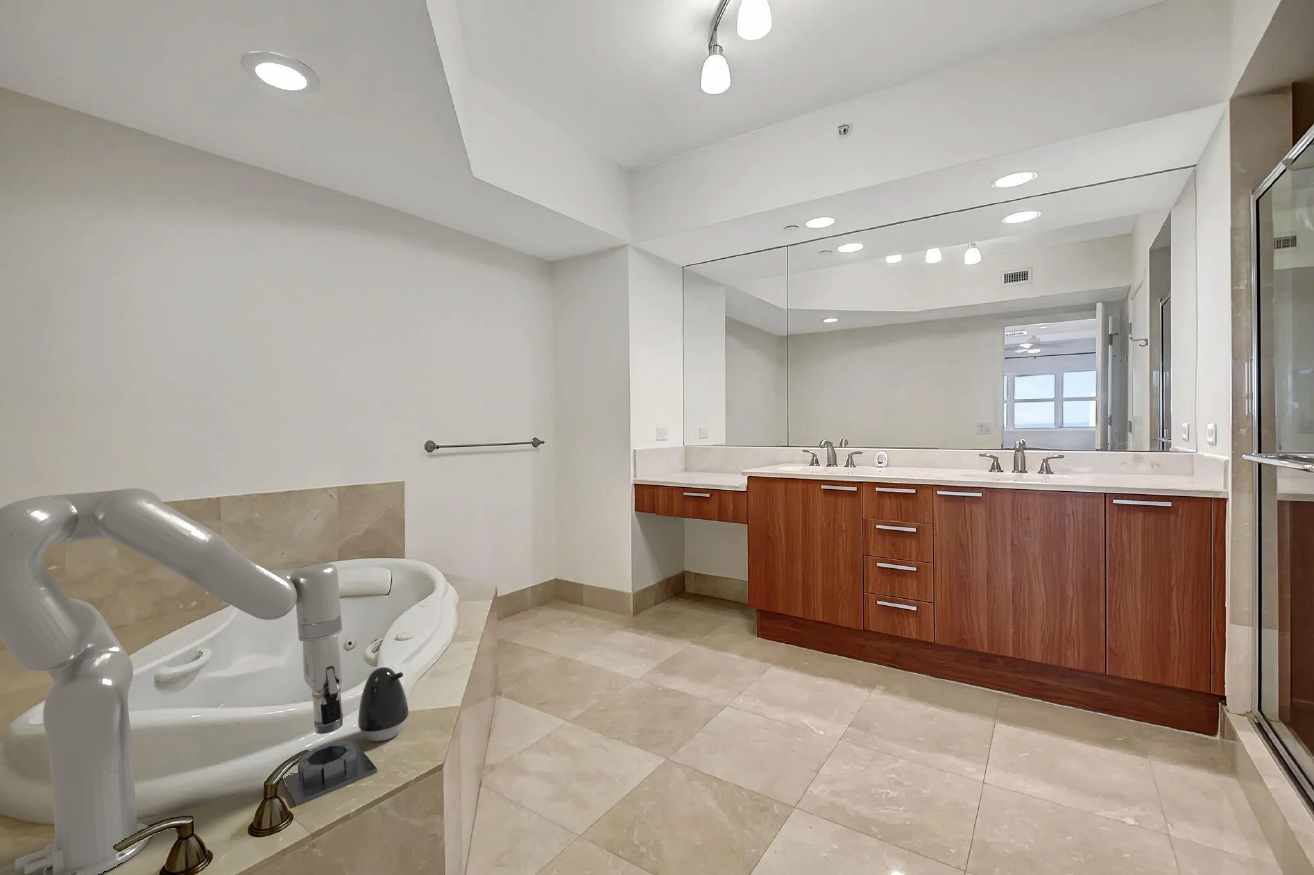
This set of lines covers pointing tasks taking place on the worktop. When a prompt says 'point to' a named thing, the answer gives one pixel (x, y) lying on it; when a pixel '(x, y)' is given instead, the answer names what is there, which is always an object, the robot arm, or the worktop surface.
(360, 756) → the bore block
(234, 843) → the worktop surface
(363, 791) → the worktop surface
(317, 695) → the piston
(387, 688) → the pump dispenser
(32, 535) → the robot arm
